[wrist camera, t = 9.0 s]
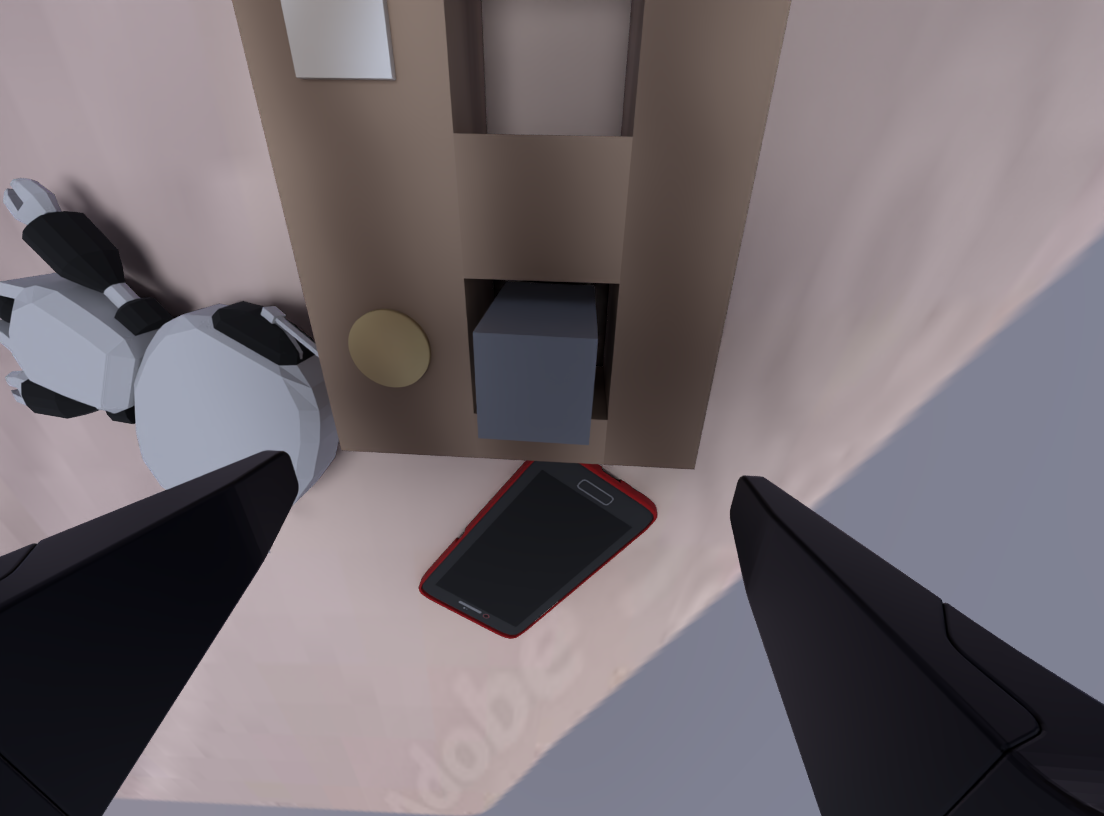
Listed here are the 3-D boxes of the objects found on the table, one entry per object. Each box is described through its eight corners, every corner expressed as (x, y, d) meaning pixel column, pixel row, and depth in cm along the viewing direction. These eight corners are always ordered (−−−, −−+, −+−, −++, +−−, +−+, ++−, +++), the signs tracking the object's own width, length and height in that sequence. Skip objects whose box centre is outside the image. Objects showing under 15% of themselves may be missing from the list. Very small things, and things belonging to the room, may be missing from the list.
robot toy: (68, 377, 25) (320, 511, 27) (-40, 414, 21) (267, 570, 23) (83, 156, 19) (397, 345, 21) (-58, 148, 15) (346, 382, 17)
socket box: (761, -130, 13) (855, -286, 9) (672, 407, 22) (695, 474, 17) (299, -126, 14) (158, -268, 9) (388, 394, 23) (337, 454, 18)
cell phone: (662, 503, 25) (665, 515, 24) (514, 630, 31) (512, 643, 31) (551, 429, 23) (550, 439, 23) (417, 579, 30) (412, 592, 29)
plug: (593, 274, 19) (597, 339, 12) (587, 349, 21) (589, 445, 14) (513, 270, 19) (472, 332, 12) (514, 345, 21) (478, 438, 14)
